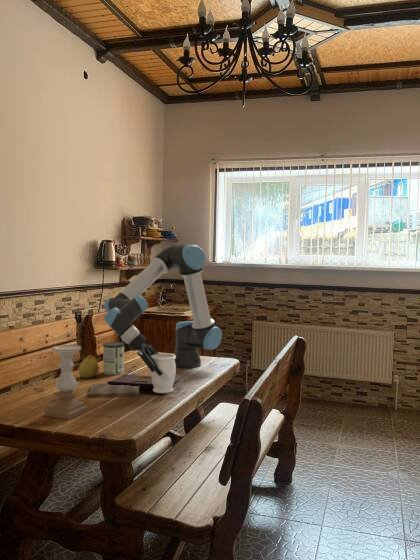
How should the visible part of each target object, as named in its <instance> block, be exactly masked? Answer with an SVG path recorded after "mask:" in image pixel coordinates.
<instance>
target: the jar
mask: <svg viewBox="0 0 420 560" xmlns="http://www.w3.org/2000/svg"><path fill="white" fill-rule="evenodd" d="M151 357H152V358H153V360H154V361H155V363H156V364H157V366H158V367H160V368H161V369H162V370H163V371H164V372H165V373H166V374H167V375H168V376H169V377H170V378H169V379H168V380H167V381H166V382H164V381H163V380H162V379H161V378H160V377H159V376H158V375H157V374H156V373H155V372H154V371H153V372H151V371H150V377H151V383H152V386H153V389H152V391H153V392H154V393H157V394H170V393H171V392H172V393H173V391H174V388H173V386H174V384H175V378H176V372H177V367H176V364H175V359H176V356H175V355H174V353H172V354H171V353H159V354H154V355H151Z"/></svg>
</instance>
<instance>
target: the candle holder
mask: <svg viewBox="0 0 420 560" xmlns="http://www.w3.org/2000/svg"><path fill="white" fill-rule="evenodd" d="M81 350H82V346H81V345H76V344H62V345H61V344H60V345H54V346H52V347H51V351H52V352H54V353H58V355H59V357H60V358H61V360H60V363H59V364H58V367H60V370H61V373H60V375H59V377H58V378H57V380H56V382H55V387H56V389H57V390H59V391H58V392H57V397H58V399H57V400H55V401H54V403H51V404H49V405H47V409H44V416H45V417H50V418H56V419H61V420H67V421H68V420H72V419H75V418H77V417H79V416H81V415H82V414H84V413H87V412H89V411H88V410H89V408H88V406H87V405H86V403H85V402H84V401H79V400H77V399H76V398H75V396H76V392H75V391H74V390H75V389H76V387H77V385H78V382H77V379H76V378H75V376H74V374H73V372H72V370H73V367H74V365H75V364H74V362H73V360H72V359H73V356H74V354H75V352H79V351H81Z"/></svg>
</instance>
